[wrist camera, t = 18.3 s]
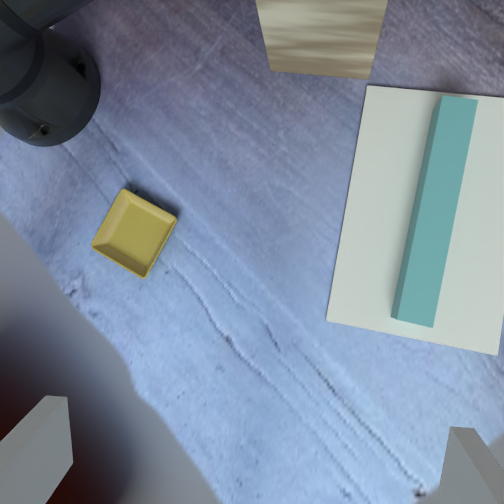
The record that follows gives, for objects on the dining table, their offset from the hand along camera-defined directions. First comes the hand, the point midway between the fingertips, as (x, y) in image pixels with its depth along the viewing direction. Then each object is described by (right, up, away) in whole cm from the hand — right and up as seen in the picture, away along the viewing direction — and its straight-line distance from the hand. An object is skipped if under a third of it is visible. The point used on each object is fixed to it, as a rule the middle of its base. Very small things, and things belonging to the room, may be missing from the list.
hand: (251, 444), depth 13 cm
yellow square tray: (-14, +9, +37) cm, 40 cm away
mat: (+20, +11, +30) cm, 38 cm away
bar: (+20, +11, +30) cm, 37 cm away
